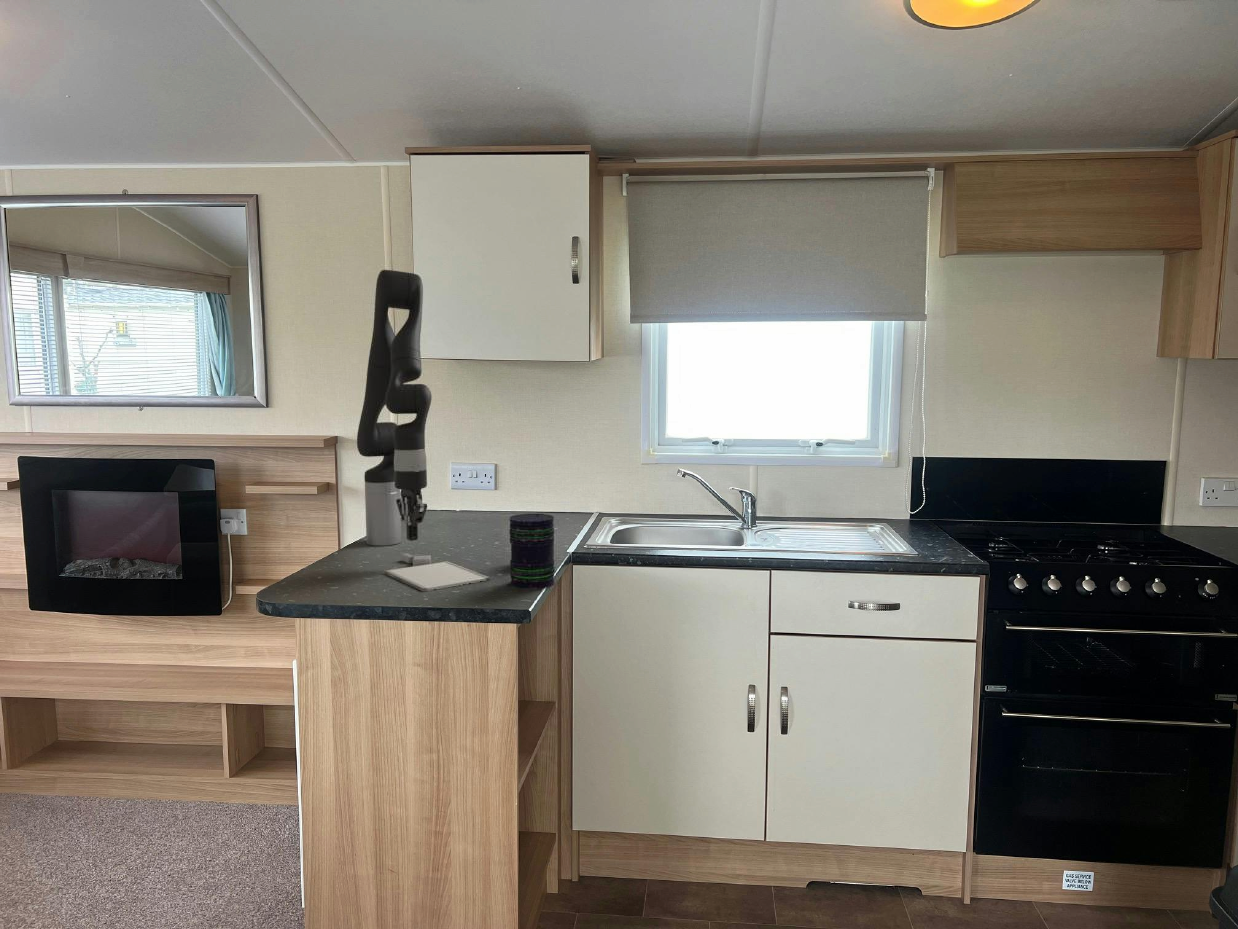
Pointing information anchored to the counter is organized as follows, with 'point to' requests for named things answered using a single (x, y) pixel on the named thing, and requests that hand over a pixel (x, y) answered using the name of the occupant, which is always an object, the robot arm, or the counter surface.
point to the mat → (436, 576)
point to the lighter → (416, 559)
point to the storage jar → (532, 551)
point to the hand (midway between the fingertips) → (412, 539)
